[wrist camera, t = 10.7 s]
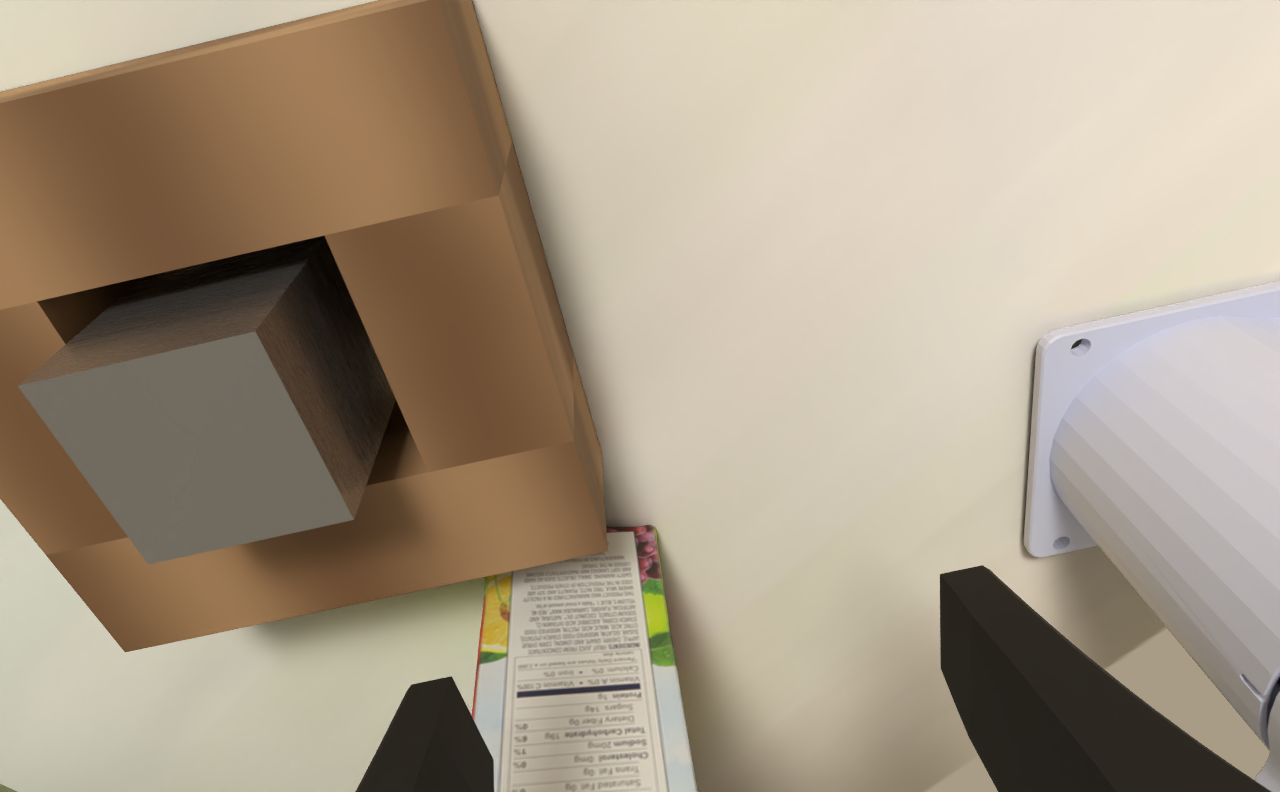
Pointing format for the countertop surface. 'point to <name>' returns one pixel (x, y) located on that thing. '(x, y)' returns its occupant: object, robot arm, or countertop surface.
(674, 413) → the countertop surface
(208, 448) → the square bit
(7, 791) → the grocery bag
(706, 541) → the countertop surface
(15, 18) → the countertop surface
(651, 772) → the snack box
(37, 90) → the socket block
